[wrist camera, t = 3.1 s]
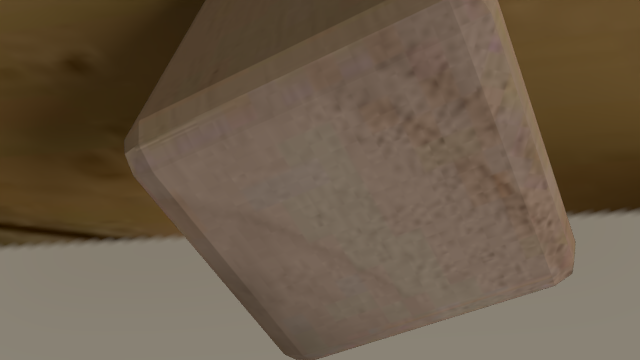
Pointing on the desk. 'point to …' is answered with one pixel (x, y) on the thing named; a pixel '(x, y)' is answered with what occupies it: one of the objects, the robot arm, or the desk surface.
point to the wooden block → (354, 165)
